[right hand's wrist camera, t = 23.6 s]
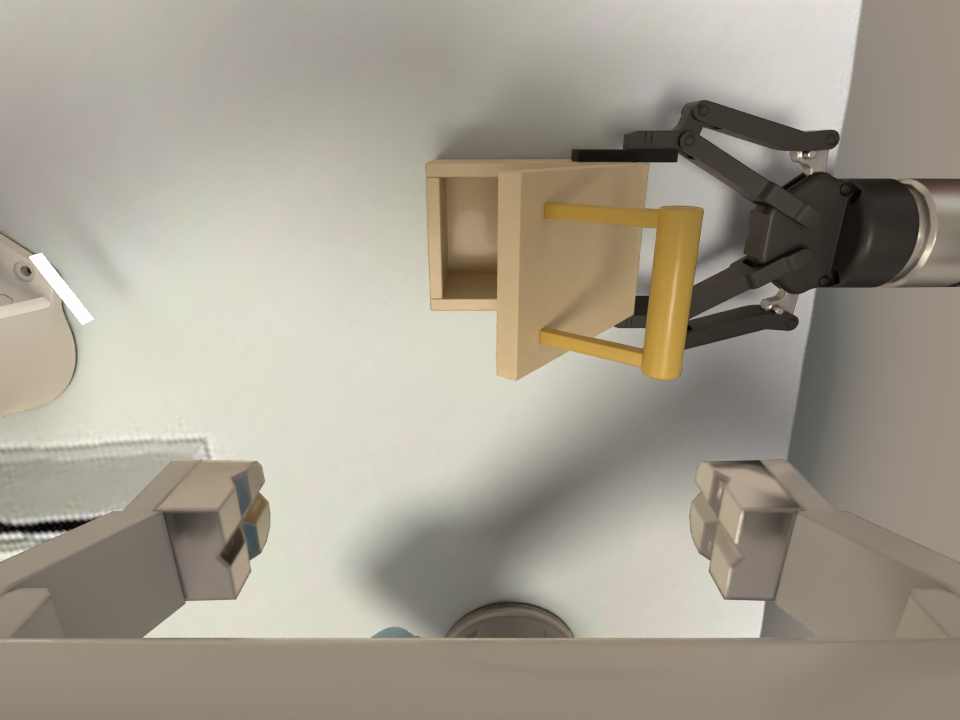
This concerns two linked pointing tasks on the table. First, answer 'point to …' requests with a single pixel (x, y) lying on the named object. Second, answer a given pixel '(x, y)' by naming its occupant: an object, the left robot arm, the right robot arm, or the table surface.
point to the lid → (589, 268)
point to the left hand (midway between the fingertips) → (570, 234)
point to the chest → (469, 228)
